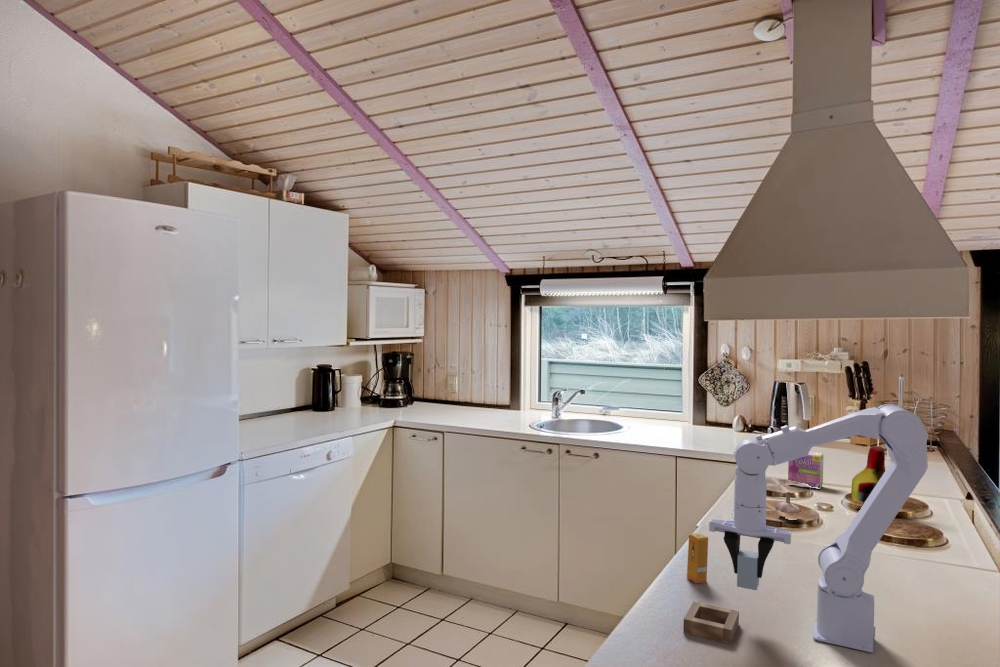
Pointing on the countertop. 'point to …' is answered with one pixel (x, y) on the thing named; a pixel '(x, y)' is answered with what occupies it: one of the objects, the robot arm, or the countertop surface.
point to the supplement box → (697, 558)
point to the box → (807, 469)
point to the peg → (747, 570)
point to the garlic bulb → (787, 506)
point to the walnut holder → (711, 622)
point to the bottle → (869, 475)
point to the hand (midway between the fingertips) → (748, 573)
